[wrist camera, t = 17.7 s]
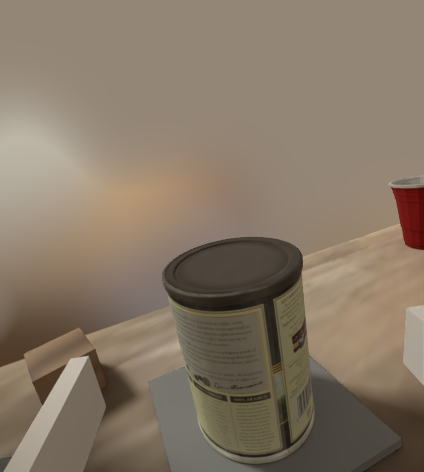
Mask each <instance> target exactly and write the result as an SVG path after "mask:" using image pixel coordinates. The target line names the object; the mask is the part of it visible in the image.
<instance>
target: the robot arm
mask: <svg viewBox="0 0 424 472" xmlns="http://www.w3.org/2000/svg"><path fill="white" fill-rule="evenodd" d="M403 363H404V364H405V365H406V366H407V368H408V369H409V370H410V371H411V372H412V373H413V374H414V375H415V376H416V378H417V379H418V380H419V381H420V382H421V383H422V384H423V385H424V305H423V306H416V307H410V308H406V324H405V341H404V358H403ZM105 409H106V404H105V401H104V399H103V396H102V393H101V390H100V387H99V384H98V381H97V378H96V375H95V373H94V370H93V367H92V364H91V361H90V358H89V356H85V357H78V358H72V359H70V360H69V362H68V364H67V365H66V367H65V369H64V371H63V372H62V374H61V376H60V377H59V379H58V381H57V382H56V384H55V386H54V387H53V389H52V391H51V392H50V394H49V396H48V398H47V399H46V401H45V403H44V404H43V406H42V408H41V409H40V411H39V413H38V414H37V416H36V418H35V419H34V421H33V423H32V424H31V426H30V428H29V430H28V431H27V433H26V435H25V436H24V438H23V440H22V441H21V443H20V445H19V446H18V448H17V450H16V451H15V453H14V455H13V457H9V458H2V459H0V472H83V471H84V468H85V465H86V463H87V460H88V457H89V454H90V451H91V448H92V446H93V443H94V440H95V437H96V434H97V431H98V429H99V426H100V423H101V420H102V417H103V415H104V412H105Z"/></svg>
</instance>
